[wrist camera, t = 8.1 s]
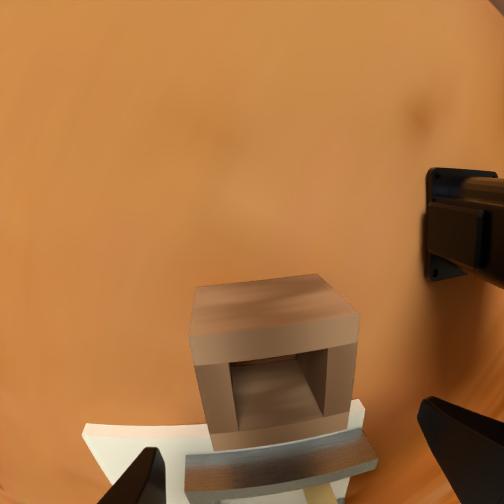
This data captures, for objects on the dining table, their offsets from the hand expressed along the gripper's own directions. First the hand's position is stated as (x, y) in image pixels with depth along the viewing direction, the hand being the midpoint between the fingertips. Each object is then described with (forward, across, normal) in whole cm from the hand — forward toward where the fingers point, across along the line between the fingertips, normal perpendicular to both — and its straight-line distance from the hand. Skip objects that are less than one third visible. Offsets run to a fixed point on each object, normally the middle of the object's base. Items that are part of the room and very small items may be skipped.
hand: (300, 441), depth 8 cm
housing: (+6, 0, +13) cm, 15 cm away
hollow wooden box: (+8, 0, 0) cm, 8 cm away
